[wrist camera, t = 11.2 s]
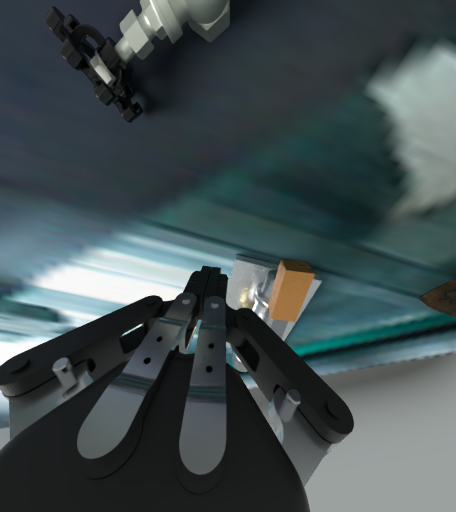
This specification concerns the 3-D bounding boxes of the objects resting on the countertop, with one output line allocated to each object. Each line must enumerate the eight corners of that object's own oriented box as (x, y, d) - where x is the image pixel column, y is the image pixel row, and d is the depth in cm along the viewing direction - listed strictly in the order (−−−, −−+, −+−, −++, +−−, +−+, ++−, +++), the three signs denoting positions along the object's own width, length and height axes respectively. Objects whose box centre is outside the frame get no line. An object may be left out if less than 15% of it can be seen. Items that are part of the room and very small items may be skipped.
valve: (208, -78, 12) (98, 53, 15) (176, -314, 6) (10, -17, 10) (251, 40, 14) (147, 130, 18) (257, -47, 8) (101, 112, 12)
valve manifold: (211, 336, 32) (202, 384, 25) (236, 254, 24) (233, 291, 17) (272, 350, 33) (280, 400, 26) (317, 274, 24) (348, 319, 17)
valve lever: (269, 365, 21) (271, 381, 20) (250, 363, 22) (251, 378, 20) (308, 262, 14) (316, 274, 13) (279, 258, 14) (284, 270, 13)
